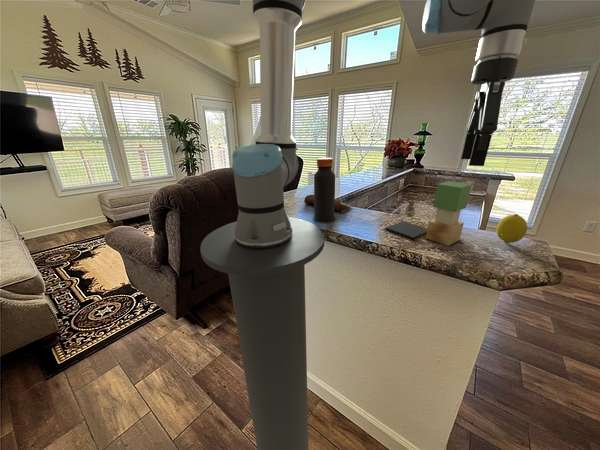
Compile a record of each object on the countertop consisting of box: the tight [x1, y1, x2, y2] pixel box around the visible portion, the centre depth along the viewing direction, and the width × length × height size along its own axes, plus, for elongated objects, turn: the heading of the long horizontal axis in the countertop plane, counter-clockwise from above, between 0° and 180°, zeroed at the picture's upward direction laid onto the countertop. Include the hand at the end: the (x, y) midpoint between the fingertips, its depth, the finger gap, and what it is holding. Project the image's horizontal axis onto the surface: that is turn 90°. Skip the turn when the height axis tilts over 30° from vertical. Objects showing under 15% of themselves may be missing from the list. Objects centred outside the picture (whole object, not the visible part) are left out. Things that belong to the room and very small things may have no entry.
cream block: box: [434, 208, 462, 226], centre depth 61 cm, size 4×4×4 cm
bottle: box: [313, 157, 336, 223], centre depth 77 cm, size 7×7×20 cm
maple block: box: [425, 218, 464, 247], centre depth 63 cm, size 6×6×5 cm
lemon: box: [496, 213, 528, 244], centre depth 59 cm, size 6×6×8 cm
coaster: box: [384, 220, 428, 240], centre depth 69 cm, size 9×9×1 cm
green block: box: [432, 180, 472, 212], centre depth 59 cm, size 6×6×6 cm
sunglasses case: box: [303, 194, 352, 213], centre depth 93 cm, size 18×7×7 cm
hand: (470, 162), depth 58 cm, fingers open, 13 cm apart
